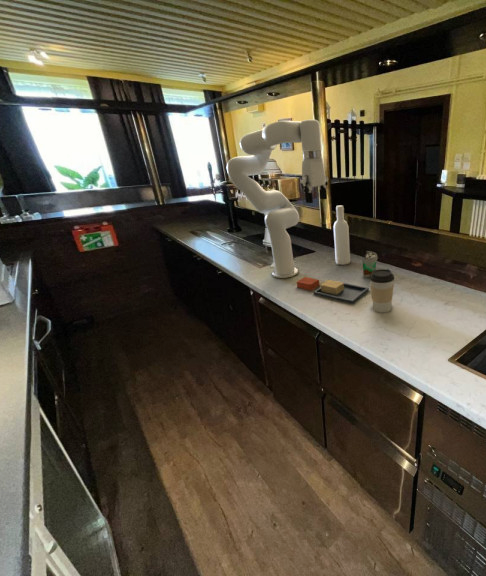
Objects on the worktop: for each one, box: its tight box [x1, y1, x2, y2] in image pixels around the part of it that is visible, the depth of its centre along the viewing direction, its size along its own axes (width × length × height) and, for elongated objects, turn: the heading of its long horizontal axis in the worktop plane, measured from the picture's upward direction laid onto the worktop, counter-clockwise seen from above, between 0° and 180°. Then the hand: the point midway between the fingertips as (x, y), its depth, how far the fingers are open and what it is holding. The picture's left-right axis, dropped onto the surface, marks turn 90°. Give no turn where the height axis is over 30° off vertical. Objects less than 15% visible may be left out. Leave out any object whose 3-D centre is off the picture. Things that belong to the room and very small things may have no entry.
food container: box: [362, 250, 379, 278], centre depth 144 cm, size 12×6×10 cm, turn 168°
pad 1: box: [296, 276, 320, 291], centre depth 135 cm, size 8×6×3 cm
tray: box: [313, 279, 370, 305], centre depth 128 cm, size 19×14×2 cm
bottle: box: [332, 205, 351, 266], centre depth 157 cm, size 8×8×30 cm
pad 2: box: [320, 279, 345, 295], centre depth 130 cm, size 8×6×3 cm
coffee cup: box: [369, 268, 395, 313], centre depth 112 cm, size 9×9×15 cm
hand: (316, 200), depth 125 cm, fingers open, 9 cm apart
